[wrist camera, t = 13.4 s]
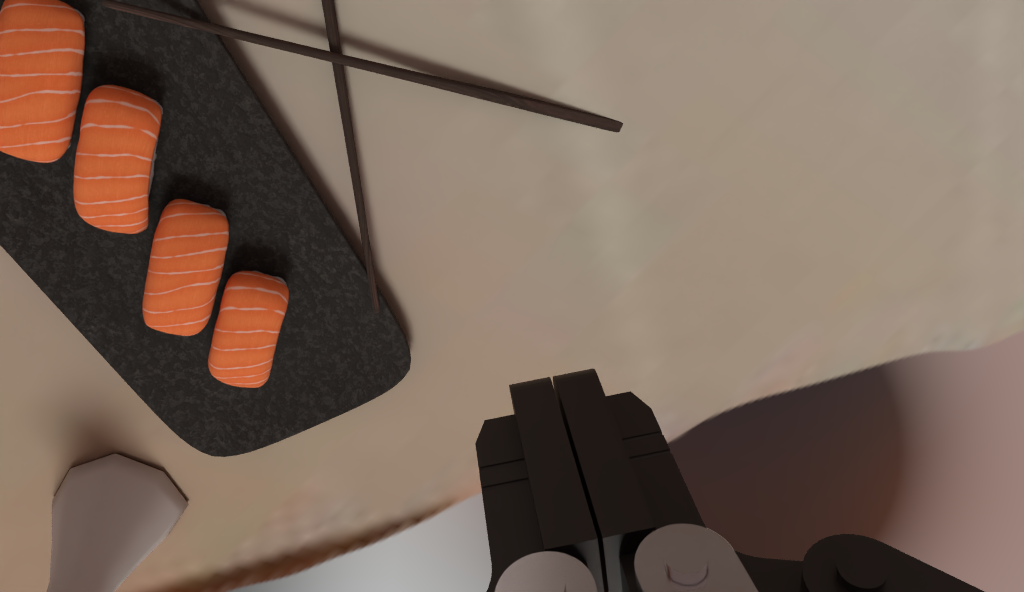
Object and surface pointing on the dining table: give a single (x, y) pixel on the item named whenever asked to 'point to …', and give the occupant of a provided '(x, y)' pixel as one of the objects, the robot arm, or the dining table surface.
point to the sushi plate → (193, 218)
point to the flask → (109, 522)
